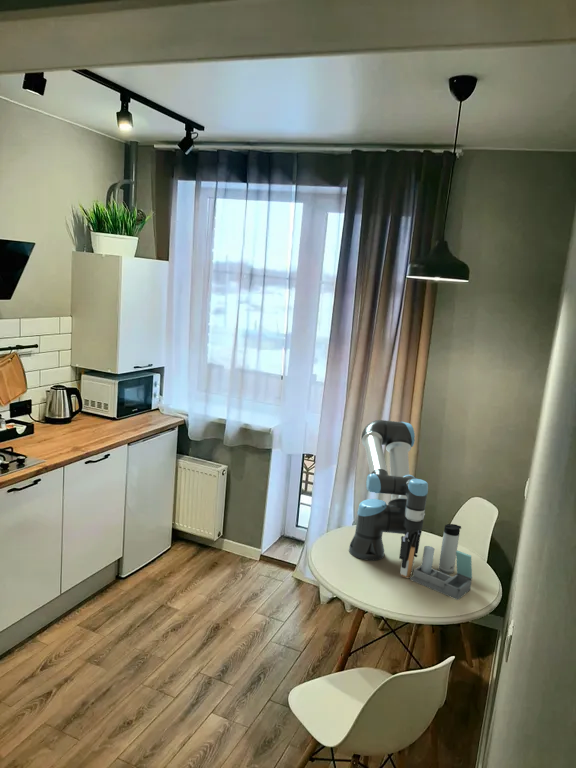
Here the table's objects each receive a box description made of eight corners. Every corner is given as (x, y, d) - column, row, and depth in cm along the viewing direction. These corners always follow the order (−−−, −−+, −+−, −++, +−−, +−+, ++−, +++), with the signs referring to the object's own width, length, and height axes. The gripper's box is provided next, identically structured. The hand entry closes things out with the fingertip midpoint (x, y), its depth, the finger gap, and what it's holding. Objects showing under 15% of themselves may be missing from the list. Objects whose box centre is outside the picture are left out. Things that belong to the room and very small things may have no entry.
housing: (410, 579, 228) (411, 569, 228) (423, 570, 237) (424, 561, 237) (457, 599, 216) (459, 589, 215) (470, 589, 225) (471, 579, 224)
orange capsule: (399, 575, 231) (403, 547, 230) (403, 572, 234) (407, 544, 233) (408, 578, 229) (411, 550, 227) (412, 575, 232) (416, 547, 230)
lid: (456, 551, 223) (457, 550, 223) (457, 574, 228) (458, 572, 229) (470, 557, 219) (471, 555, 220) (471, 580, 224) (472, 578, 225)
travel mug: (455, 575, 236) (462, 529, 233) (438, 572, 237) (445, 526, 235) (453, 568, 242) (460, 524, 239) (437, 565, 244) (444, 521, 241)
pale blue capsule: (418, 575, 230) (422, 547, 228) (423, 572, 233) (427, 545, 232) (427, 579, 228) (431, 551, 226) (432, 576, 231) (436, 548, 229)
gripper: (412, 526, 219) (404, 583, 223) (431, 516, 232) (424, 570, 236) (395, 520, 224) (387, 575, 227) (415, 510, 237) (407, 563, 240)
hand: (406, 572), depth 231 cm, fingers closed on orange capsule, 4 cm apart
